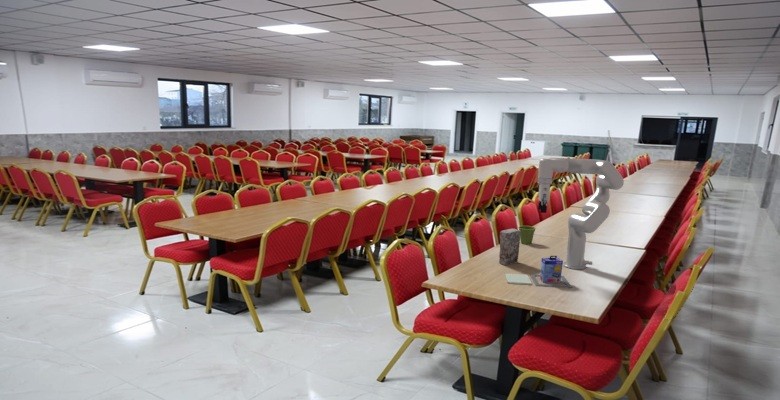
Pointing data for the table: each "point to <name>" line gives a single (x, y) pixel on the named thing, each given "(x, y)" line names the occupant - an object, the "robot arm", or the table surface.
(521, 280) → the sage board
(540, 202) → the robot arm
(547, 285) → the marked spot frame
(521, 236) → the plant pot
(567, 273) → the table surface
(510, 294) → the table surface
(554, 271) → the ink cartridge box
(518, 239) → the stone block
